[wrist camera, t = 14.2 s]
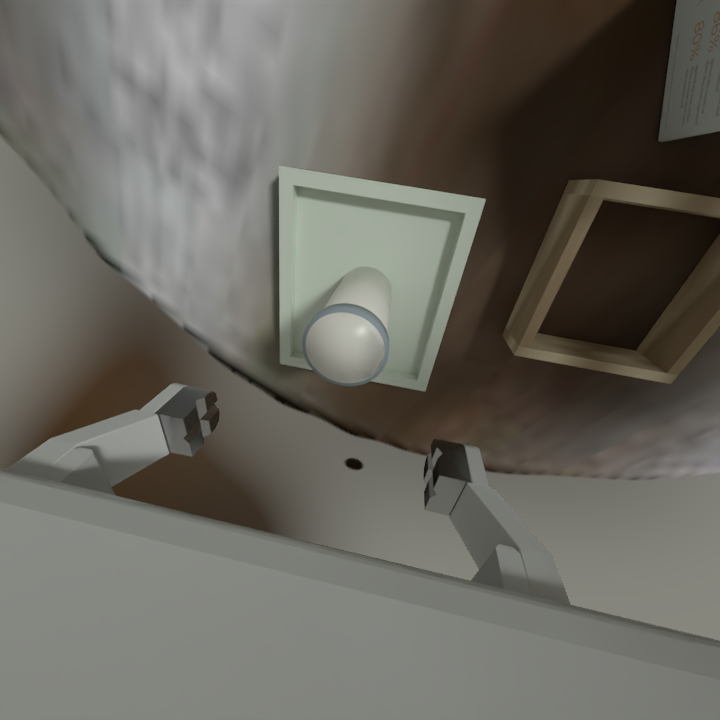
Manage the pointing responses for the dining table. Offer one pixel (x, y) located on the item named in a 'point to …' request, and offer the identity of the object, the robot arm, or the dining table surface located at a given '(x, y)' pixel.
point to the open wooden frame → (673, 328)
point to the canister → (351, 330)
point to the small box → (693, 72)
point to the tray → (373, 260)
